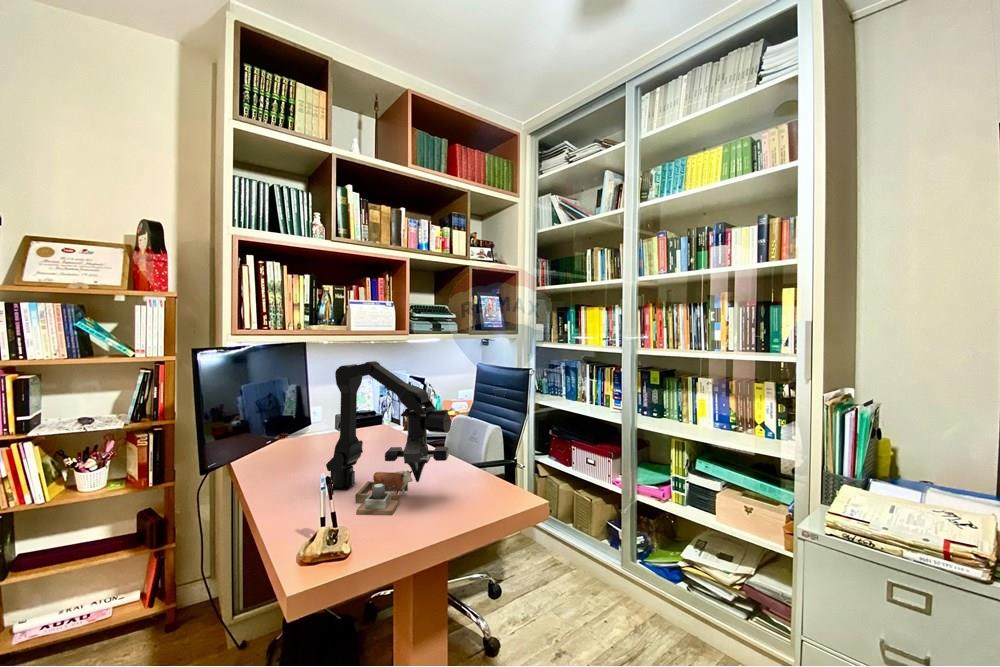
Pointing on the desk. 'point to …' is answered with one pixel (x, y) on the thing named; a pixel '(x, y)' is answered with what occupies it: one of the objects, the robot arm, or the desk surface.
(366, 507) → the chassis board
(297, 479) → the desk surface
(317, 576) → the desk surface
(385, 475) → the bull figurine
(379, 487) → the cylinder
